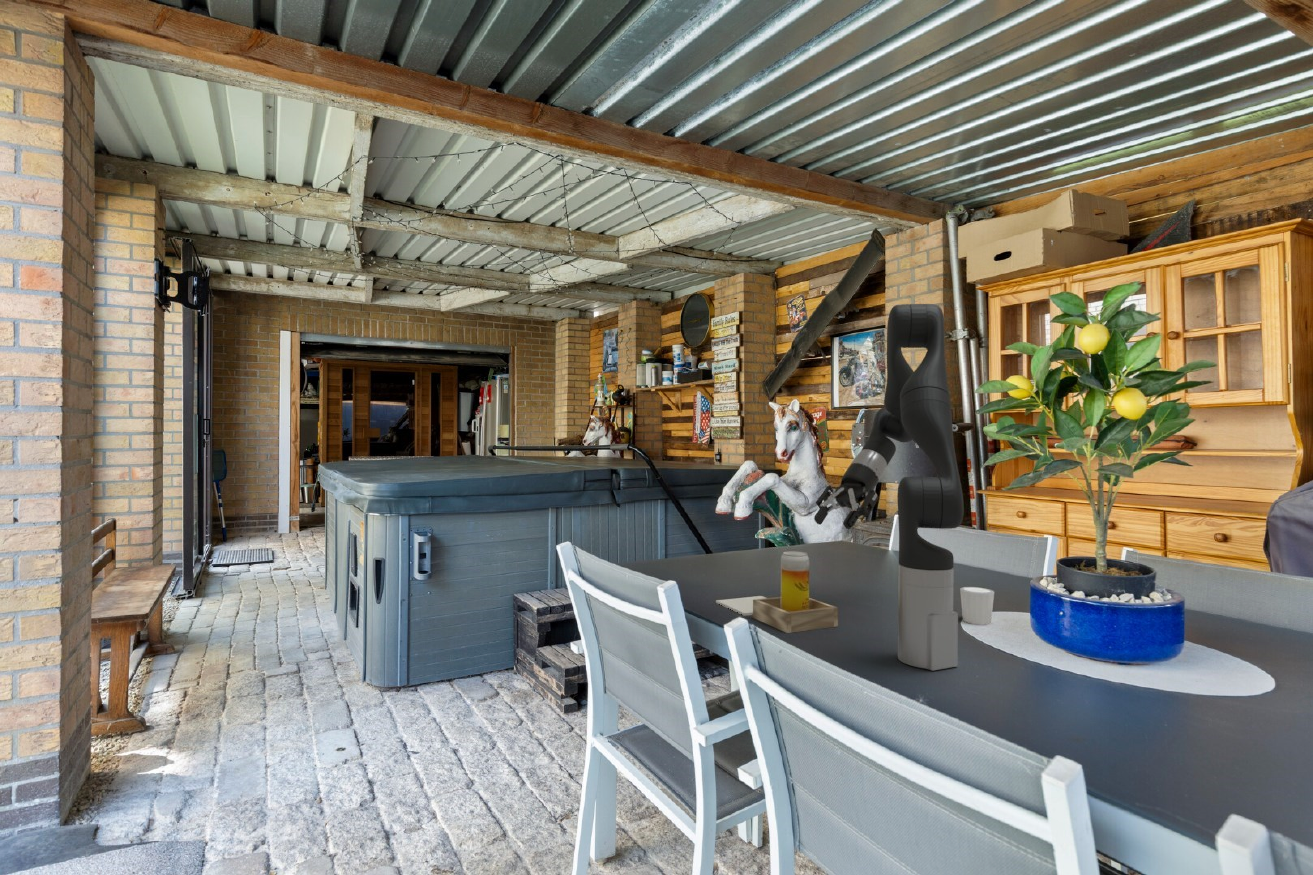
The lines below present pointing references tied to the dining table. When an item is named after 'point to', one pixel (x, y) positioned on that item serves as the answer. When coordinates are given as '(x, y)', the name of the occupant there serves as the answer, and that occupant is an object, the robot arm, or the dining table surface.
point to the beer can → (794, 581)
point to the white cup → (977, 605)
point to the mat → (740, 604)
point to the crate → (795, 615)
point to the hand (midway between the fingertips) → (831, 524)
